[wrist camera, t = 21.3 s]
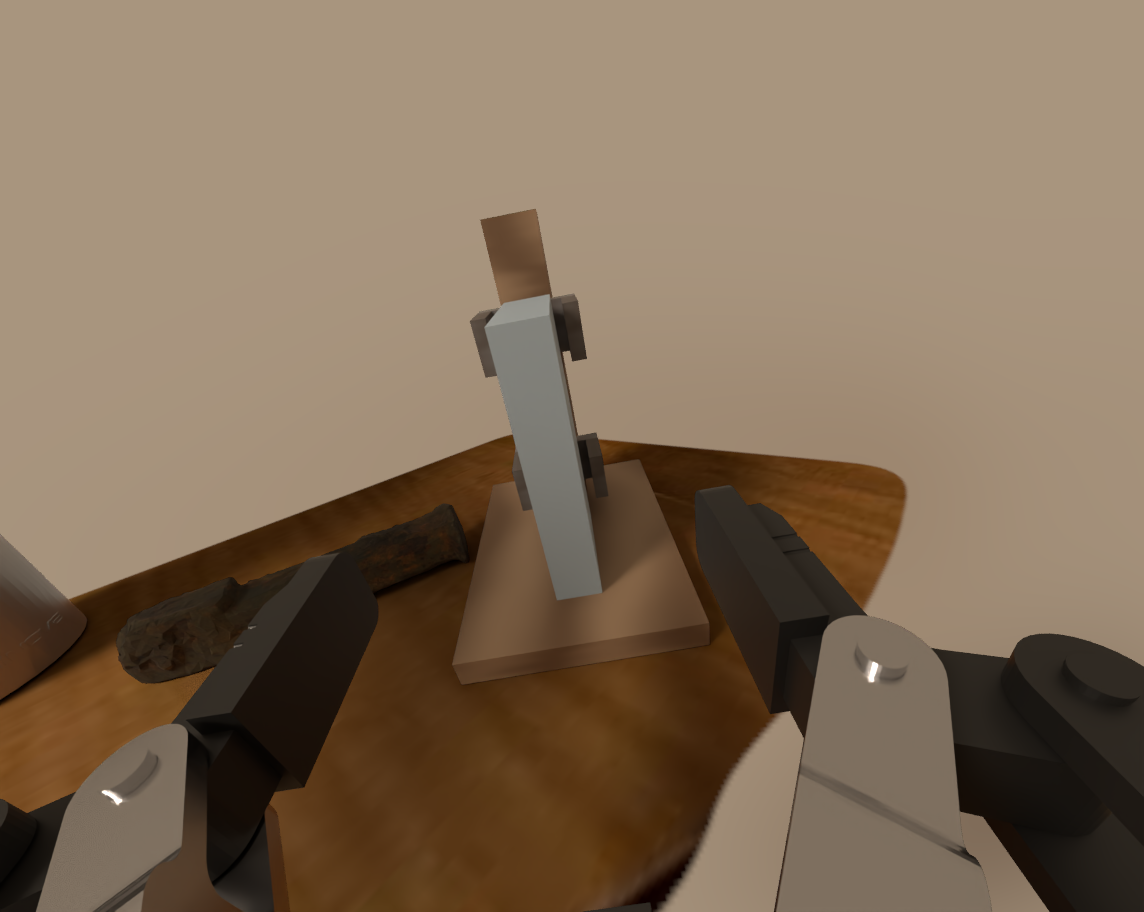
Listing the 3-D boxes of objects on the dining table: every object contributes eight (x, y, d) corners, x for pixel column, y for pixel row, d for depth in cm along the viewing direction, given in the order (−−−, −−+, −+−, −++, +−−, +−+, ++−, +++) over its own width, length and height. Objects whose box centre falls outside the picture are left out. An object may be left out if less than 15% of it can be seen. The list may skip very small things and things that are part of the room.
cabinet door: (557, 600, 21) (484, 327, 15) (555, 506, 29) (506, 299, 22) (602, 592, 21) (549, 315, 15) (588, 500, 29) (549, 291, 22)
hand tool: (466, 535, 31) (446, 483, 29) (476, 567, 27) (454, 510, 25) (170, 651, 25) (119, 598, 23) (137, 708, 22) (74, 652, 20)
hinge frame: (461, 684, 20) (239, 226, 11) (497, 500, 34) (416, 237, 25) (709, 644, 19) (697, 132, 10) (641, 474, 33) (610, 198, 24)
